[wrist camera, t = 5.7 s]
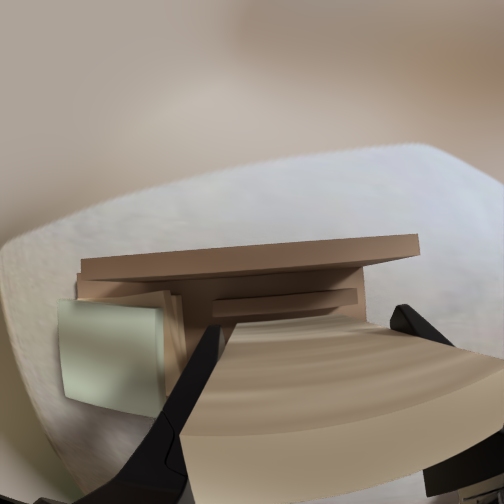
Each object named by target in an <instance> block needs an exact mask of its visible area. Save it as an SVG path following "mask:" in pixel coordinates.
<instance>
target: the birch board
mask: <svg viewBox="0 0 504 504" xmlns="http://www.w3.org/2000/svg"><path fill="white" fill-rule="evenodd" d="M503 425H504V360H503V359H499V358H495V357H491V356H487V355H483V354H479V353H475V352H471V351H467V350H464V349H460V348H456V347H452V346H449V345H445V344H441V343H438V342H434V341H431V340H427V339H423V338H420V337H416V336H412V335H408V334H405V333H401V332H398V331H395V330H391V329H389V328H385V327H382V326H379V325H375V324H372V323H369V322H365V321H362V320H359V319H355V318H352V317H349V316H346V315H343V314H333V315H324V316H315V317H306V318H296V319H286V320H274V321H262V322H248V323H237V325H236V327H235V329H234V331H233V333H232V335H231V337H230V339H229V341H228V343H227V345H226V346H225V350H224V352H223V354H222V356H221V358H220V360H219V361H218V362H217V364H216V366H215V368H214V370H213V372H212V374H211V376H210V378H209V380H208V382H207V384H206V385H205V387H204V389H203V391H202V393H201V395H200V397H199V399H198V401H197V403H196V405H195V407H194V408H193V410H192V412H191V414H190V416H189V418H188V420H187V422H186V424H185V426H184V427H183V429H182V431H181V433H180V435H179V436H180V441H181V446H182V450H183V455H184V460H185V464H186V468H187V473H188V477H189V481H190V485H191V489H192V493H193V496H194V500H195V504H286V503H295V502H303V501H310V500H316V499H322V498H327V497H333V496H338V495H342V494H347V493H351V492H355V491H359V490H363V489H367V488H370V487H374V486H377V485H381V484H384V483H387V482H390V481H393V480H396V479H399V478H402V477H405V476H408V475H410V474H413V473H416V472H418V471H421V470H423V469H426V468H428V467H430V466H433V465H435V464H437V463H440V462H442V461H444V460H446V459H448V458H450V457H452V456H454V455H456V454H458V453H460V452H462V451H464V450H466V449H468V448H470V447H472V446H474V445H475V444H477V443H479V442H481V441H482V440H484V439H486V438H487V437H489V436H491V435H492V434H494V433H496V432H497V431H499V430H500V429H502V428H503Z"/></svg>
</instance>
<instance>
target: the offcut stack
mask: <svg viewBox="0 0 504 504" xmlns="http://www.w3.org/2000/svg"><path fill="white" fill-rule="evenodd" d="M57 308H58V334H59V348H60V359H61V368H62V376H63V384H64V390H65V397H68V398H71V399H75V400H78V401H81V402H85V403H89V404H92V405H96V406H100V407H104V408H108V409H112V410H117V411H121V412H126V413H131V414H136V415H142V416H147V417H153V418H157V417H158V415H159V413H160V411H161V410H162V408H163V406H164V404H165V402H166V396H169V395H170V393H171V391H172V390H173V388H174V386H175V384H176V382H177V381H178V379H179V377H180V375H181V373H182V371H183V370H184V368H185V366H186V364H187V362H188V361H187V353H186V343H185V333H184V322H183V310H182V297H181V295H172V296H171V293H170V290H164V291H157V292H151V293H144V294H138V295H132V296H125V297H116V298H78V299H77V300H74V299H57ZM162 411H163V410H162Z"/></svg>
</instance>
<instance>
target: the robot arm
mask: <svg viewBox="0 0 504 504" xmlns="http://www.w3.org/2000/svg"><path fill="white" fill-rule="evenodd" d="M390 328H391V330H395V331H398V332H401V333H405V334H408V335H412V336H416V337H420V338H423V339H427V340H431V341H434V342H438V343H441V344H445V345H449V346H452V347H455V346H454V345H453V344H452V343H451V342H450V341H449V340H448V339H446V338H445V337H444V336H443V335H442V334H441V333H440V332H439V331H438V330H437V329H435V328H434V327H433V326H432V325H431V324H430V323H429V322H428V321H426V320H425V319H424V318H423V317H422V316H421V315H420V314H418V313H417V312H416V311H415V310H414V309H413V308H411V307H410V306H409V305H407V304H402V305H397V306H396V308H395V310H394V312H393V315H392V317H391V319H390ZM224 350H225V340H224V335H223V331H222V327H221V325H220V324H212V325H208V326H207V328H206V330H205V332H204V333H203V335H202V337H201V339H200V341H199V342H198V344H197V346H196V348H195V350H194V351H193V353H192V355H191V357H190V359H189V361H188V362H187V364H186V366H185V368H184V370H183V371H182V373H181V375H180V377H179V379H178V381H177V382H176V384H175V386H174V388H173V390H172V391H171V393H170V395H169V397H168V399H167V401H166V402H165V404H164V406H163V408H162V410H163V411H162V410H161V411H160V413H159V415H158V417H157V419H156V420H155V422H154V424H153V425H152V427H151V429H150V430H149V432H148V434H147V435H146V436H145V438H144V439H143V441H142V442H141V444H140V445H139V446H138V448H137V449H136V450H135V452H134V453H133V454H132V456H131V457H130V458H129V460H128V461H127V463H126V464H125V465H124V467H123V468H122V469H121V470H120V472H119V473H118V474H117V475H116V476H115V477H114V478H113V479H111V480H110V481H109V482H107V483H106V484H104V485H103V486H101V487H99V488H98V489H96V490H94V491H93V492H91V493H89V494H88V495H86V496H84V497H83V498H81V499H79V500H77V501H76V502H74V503H72V504H195V500H194V496H193V493H192V489H191V485H190V481H189V477H188V473H187V468H186V464H185V460H184V455H183V450H182V446H181V441H180V436H179V435H180V433H181V431H182V429H183V427H184V426H185V424H186V422H187V420H188V418H189V416H190V414H191V412H192V410H193V408H194V407H195V405H196V403H197V401H198V399H199V397H200V395H201V393H202V391H203V389H204V387H205V385H206V384H207V382H208V380H209V378H210V376H211V374H212V372H213V370H214V368H215V366H216V364H217V362H218V361H219V360H220V358H221V356H222V354H223V352H224ZM423 475H424V482H425V489H426V496H427V497H432V496H436V495H440V494H444V493H448V492H451V491H455V490H458V495H459V500H460V504H504V425H503V428H502V429H500V430H499V431H497V432H496V433H494V434H492V435H491V436H489V437H487V438H486V439H484V440H482V441H481V442H479V443H477V444H475V445H474V446H472V447H470V448H468V449H466V450H464V451H462V452H460V453H458V454H456V455H454V456H452V457H450V458H448V459H446V460H444V461H442V462H440V463H437V464H435V465H433V466H430V467H428V468H426V469H423ZM0 504H27V503H24V502H21V501H18V500H15V499H12V498H9V497H6V496H3V495H0ZM33 504H67V503H63V502H58V501H55V500H51V499H47V498H42V497H41V498H39V499H38V500H37V501H35V502H34V503H33Z"/></svg>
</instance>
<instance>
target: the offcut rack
mask: <svg viewBox="0 0 504 504" xmlns="http://www.w3.org/2000/svg"><path fill="white" fill-rule="evenodd" d="M417 255H420V247H419V239H418V234H406V235H391V236H376V237H361V238H347V239H333V240H319V241H305V242H291V243H277V244H264V245H250V246H237V247H224V248H211V249H198V250H186V251H173V252H161V253H148V254H136V255H124V256H112V257H100V258H88V259H81V273H77V291H78V298H116V297H125V296H132V295H138V294H144V293H151V292H157V291H164V290H170V293H171V296H172V295H181V297H182V310H183V322H184V333H185V343H186V353H187V361H189V359H190V357H191V355H192V353H193V351H194V350H195V348H196V346H197V344H198V342H199V341H200V339H201V337H202V335H203V333H204V332H205V330H206V328H207V326H208V325H212V324H220V325H221V327H222V331H223V335H224V340H225V346H226V345H227V343H228V341H229V339H230V337H231V335H232V333H233V331H234V329H235V327H236V325H237V323H248V322H262V321H274V320H286V319H296V318H306V317H315V316H324V315H333V314H343V315H346V316H349V317H352V318H355V319H359V320H362V321H365V322H366V302H365V287H364V275H363V266H368V265H373V264H378V263H383V262H388V261H393V260H398V259H403V258H408V257H412V256H417ZM168 397H169V396H166V401H167V399H168Z"/></svg>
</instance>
